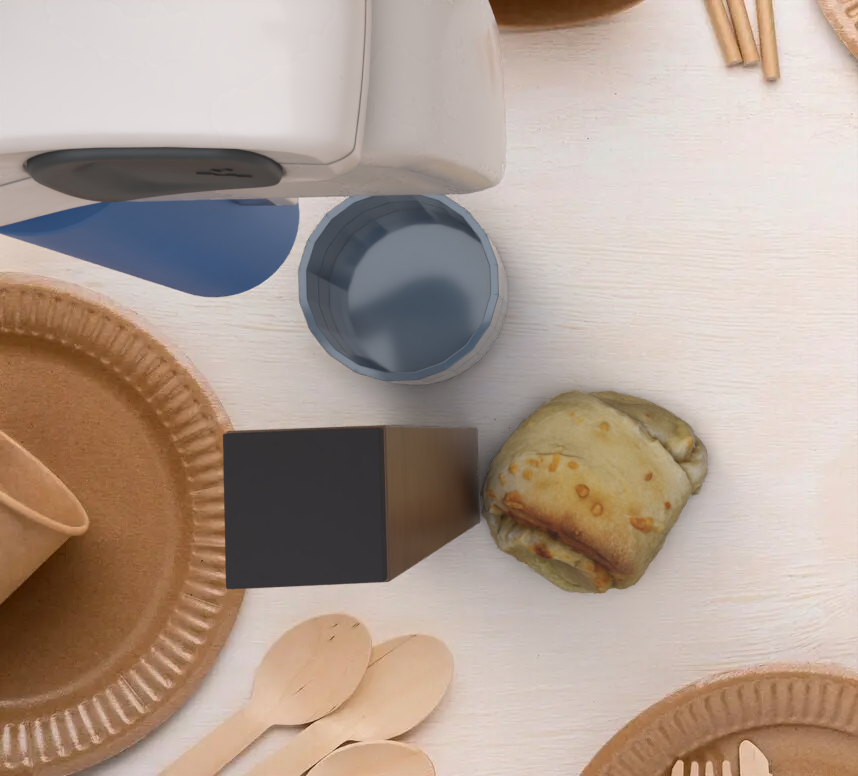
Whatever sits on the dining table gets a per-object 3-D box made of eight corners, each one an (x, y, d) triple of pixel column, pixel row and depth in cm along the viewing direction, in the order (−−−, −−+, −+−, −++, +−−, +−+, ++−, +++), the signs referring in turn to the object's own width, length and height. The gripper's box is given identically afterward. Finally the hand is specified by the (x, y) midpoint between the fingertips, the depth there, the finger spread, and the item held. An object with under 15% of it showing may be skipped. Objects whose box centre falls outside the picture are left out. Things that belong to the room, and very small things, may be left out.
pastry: (484, 592, 66) (466, 614, 58) (481, 393, 66) (462, 388, 58) (709, 584, 67) (721, 605, 59) (703, 388, 67) (715, 382, 59)
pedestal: (382, 527, 66) (228, 589, 40) (380, 431, 66) (225, 430, 40) (480, 523, 66) (390, 582, 40) (477, 427, 66) (385, 425, 40)
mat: (231, 587, 40) (225, 589, 39) (227, 433, 40) (221, 433, 39) (387, 579, 40) (384, 582, 40) (383, 427, 40) (379, 427, 40)
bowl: (327, 388, 66) (300, 384, 60) (322, 206, 66) (295, 186, 61) (511, 381, 67) (501, 377, 61) (505, 202, 67) (495, 182, 62)
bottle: (131, 300, 33) (-246, 199, 18) (128, 134, 33) (-249, -93, 19) (302, 294, 33) (62, 191, 19) (297, 131, 33) (57, -94, 19)
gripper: (-1153, 186, 14) (-262, 309, 27) (452, 150, 15) (531, 284, 29) (-1141, -290, 14) (-264, 69, 28) (438, -280, 15) (522, 56, 29)
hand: (148, 179), depth 28 cm, fingers closed on bottle, 5 cm apart
